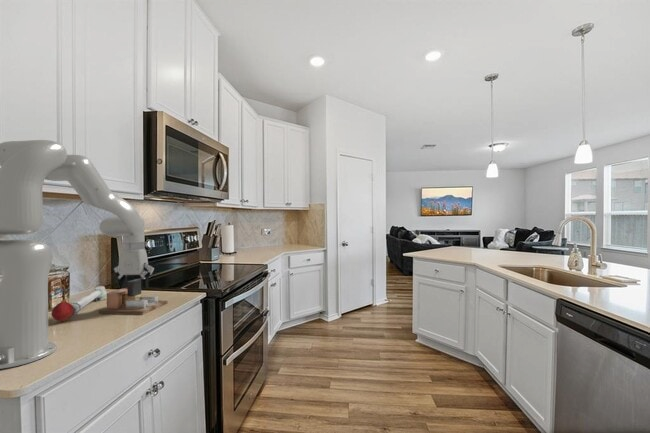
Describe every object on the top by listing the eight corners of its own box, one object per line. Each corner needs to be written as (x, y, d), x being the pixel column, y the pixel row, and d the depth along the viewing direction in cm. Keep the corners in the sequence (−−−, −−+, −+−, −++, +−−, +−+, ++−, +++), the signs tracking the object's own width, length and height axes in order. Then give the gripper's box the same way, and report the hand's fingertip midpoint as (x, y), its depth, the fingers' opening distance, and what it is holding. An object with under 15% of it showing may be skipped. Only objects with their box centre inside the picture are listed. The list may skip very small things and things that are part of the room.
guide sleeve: (144, 308, 109) (143, 301, 109) (125, 308, 110) (125, 300, 110) (158, 302, 117) (158, 295, 117) (141, 302, 117) (140, 295, 118)
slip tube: (133, 303, 111) (133, 281, 111) (113, 303, 112) (113, 281, 112) (142, 300, 116) (141, 279, 116) (122, 300, 117) (122, 279, 117)
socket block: (118, 308, 110) (117, 293, 110) (106, 307, 111) (106, 293, 111) (133, 302, 118) (133, 288, 118) (123, 301, 118) (123, 288, 118)
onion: (54, 326, 95) (54, 303, 95) (49, 323, 98) (49, 300, 98) (76, 320, 100) (76, 298, 100) (70, 317, 103) (70, 296, 103)
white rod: (59, 307, 105) (96, 283, 129) (61, 323, 106) (97, 296, 130) (76, 305, 106) (109, 282, 130) (77, 322, 107) (110, 296, 131)
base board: (142, 314, 106) (142, 311, 106) (98, 313, 108) (98, 310, 108) (167, 303, 119) (167, 300, 119) (128, 302, 122) (128, 299, 122)
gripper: (106, 248, 111) (107, 290, 111) (145, 247, 109) (146, 290, 109) (122, 246, 118) (123, 285, 118) (159, 246, 116) (159, 286, 116)
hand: (134, 288), depth 114 cm, fingers open, 9 cm apart
